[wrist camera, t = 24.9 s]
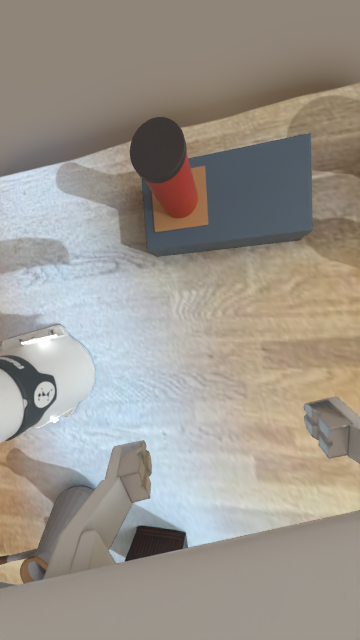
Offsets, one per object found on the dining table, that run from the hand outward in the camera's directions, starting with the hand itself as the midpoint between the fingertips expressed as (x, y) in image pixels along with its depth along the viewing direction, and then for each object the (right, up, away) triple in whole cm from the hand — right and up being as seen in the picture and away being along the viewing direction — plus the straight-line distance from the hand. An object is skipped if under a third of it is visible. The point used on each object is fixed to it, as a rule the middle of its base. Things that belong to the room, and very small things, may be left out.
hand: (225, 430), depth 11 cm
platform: (+5, +23, +24) cm, 34 cm away
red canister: (-2, +23, +20) cm, 31 cm away
